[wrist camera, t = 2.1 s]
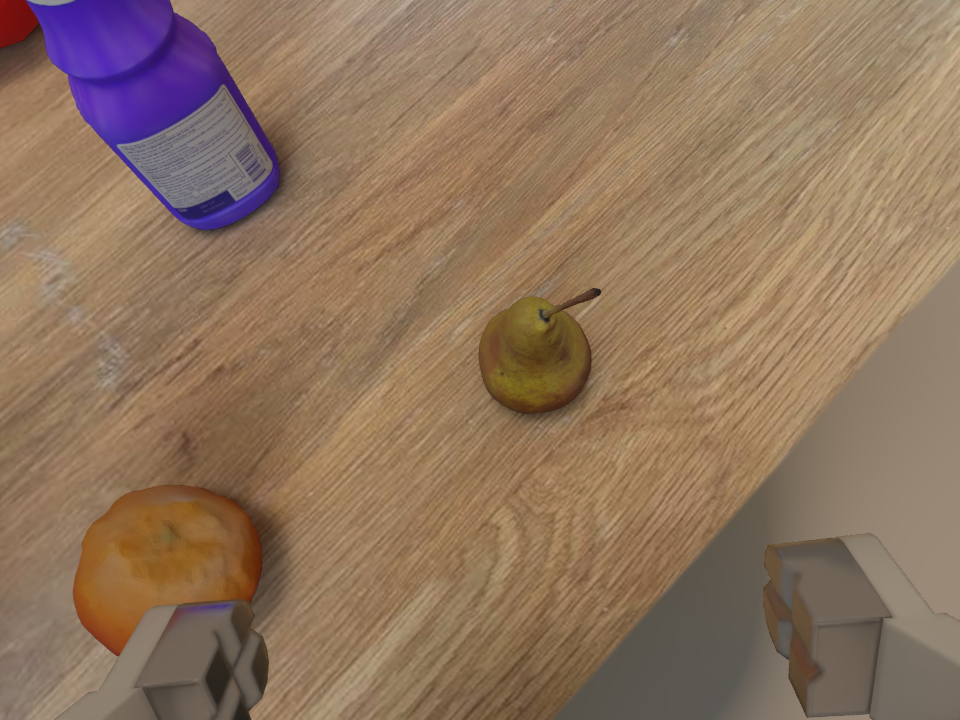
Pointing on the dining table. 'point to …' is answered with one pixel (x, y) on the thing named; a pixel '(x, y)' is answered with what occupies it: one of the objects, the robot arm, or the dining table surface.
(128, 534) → the fruit
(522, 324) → the fruit
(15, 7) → the tomato
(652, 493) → the dining table surface
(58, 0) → the bottle
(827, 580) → the robot arm
